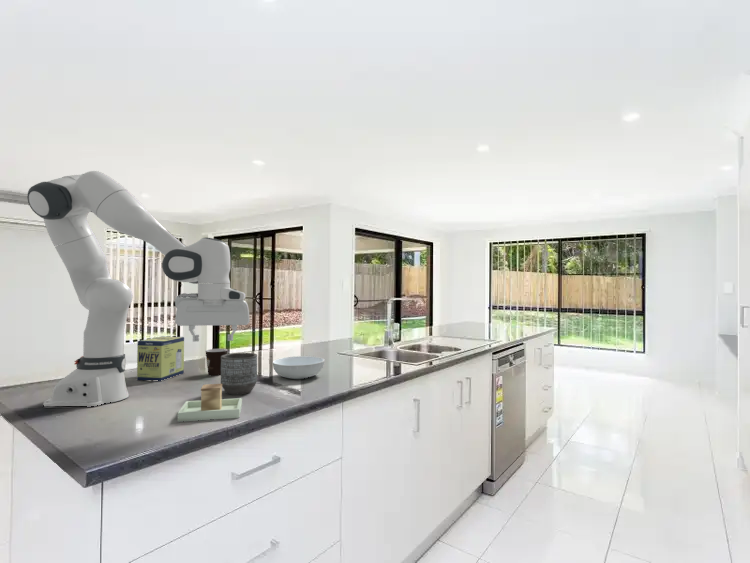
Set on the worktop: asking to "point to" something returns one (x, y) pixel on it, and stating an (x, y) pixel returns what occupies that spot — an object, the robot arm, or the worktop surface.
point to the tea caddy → (211, 397)
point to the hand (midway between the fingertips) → (213, 340)
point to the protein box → (160, 358)
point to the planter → (238, 373)
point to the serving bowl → (298, 366)
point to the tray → (210, 411)
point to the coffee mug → (214, 361)
